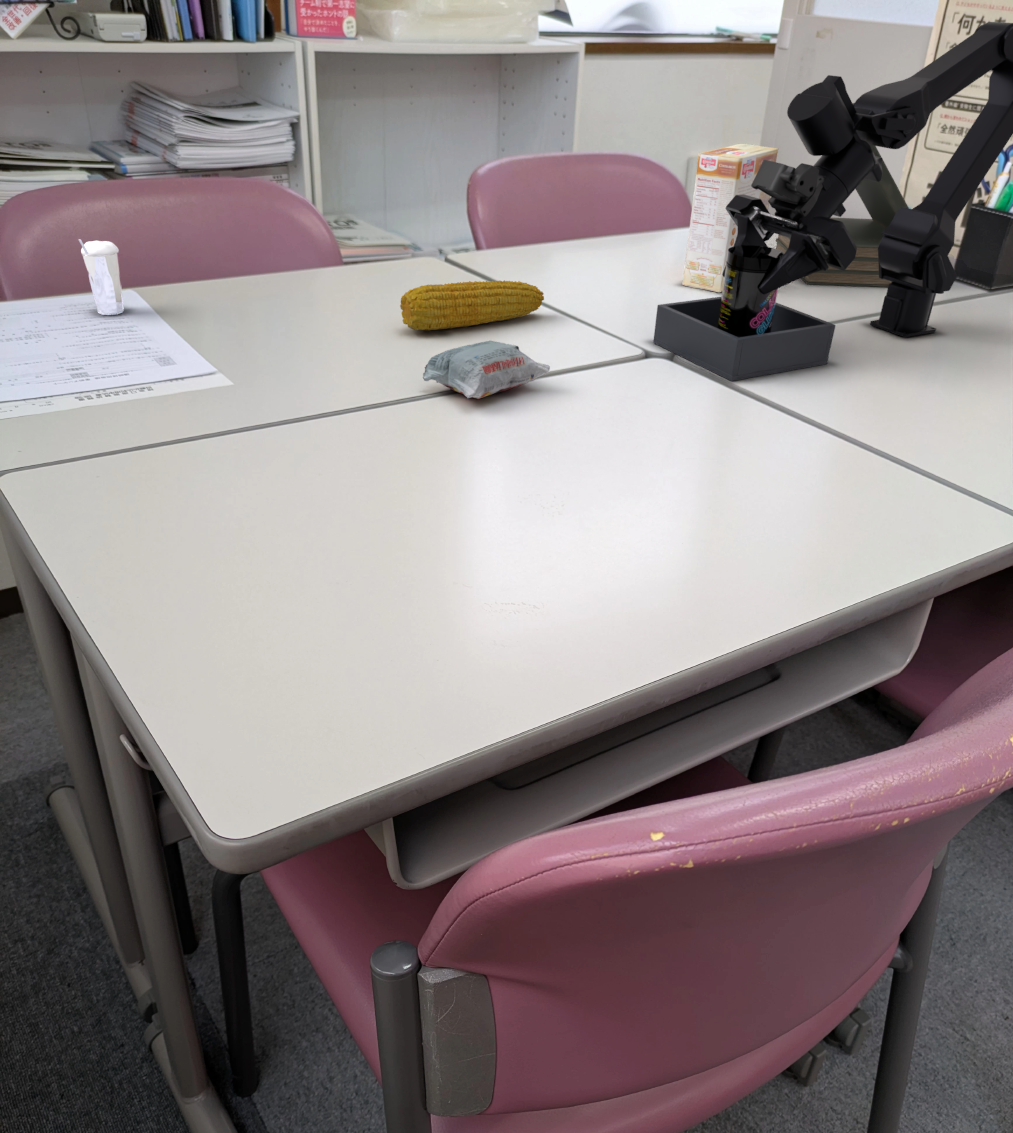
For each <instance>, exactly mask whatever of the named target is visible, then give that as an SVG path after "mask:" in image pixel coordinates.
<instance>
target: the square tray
mask: <svg viewBox="0 0 1013 1133" xmlns="http://www.w3.org/2000/svg"><path fill="white" fill-rule="evenodd" d="M721 298H722V296H716V297H709V298H708V297H707V298H701V299H699V298H698V299H691V300H685V301H678V302H671V303H662V304H657V308H656V315H655V316H656V317H655V325H654V333H653V340H652V342H653V344H655V345H656V346H659V347H661V348H663V349H664V350H667V351H670V352H671V353H673V354H675V355H677V356H679V357H682V358H684V359H686V360H687V361H689V362H691V363H694V364H695V365H697V366H700V367H701V368H703V369H705V370H708V371H710V372H712V373H714V374H716V375H718V376H720V377H722V378H724V379H725V380H728V381H730V382H734V381H739V380H745V379H750V378H756V377H762V376H768V375H774V374H780V373H784V372H789V371H795V370H801V369H808V368H812V367H817V366H823V365H827V364H828V362H829V357H830V352H831V349H832V343H833V339H834V336H835V330H836V324H835V323H831V322H829V321H827V320H824V319H821V318H819V317H816V316H813V315H811V314H809V313H805V312H802V311H800V310H797V309H794V308H792V307H789V306H787V305H784V304H782V303H778V302H776V304H775V310H774V316H773V322H772V328H771V333H765V334H758V335H752V336H745V337H736V336H734V335H732V334H729V333H727V332H725V331H722V330H720V329H718V328H717V327H718V320H719V313H720V305H721Z"/></svg>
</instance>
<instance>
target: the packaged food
mask: <svg viewBox="0 0 1013 1133" xmlns="http://www.w3.org/2000/svg"><path fill="white" fill-rule="evenodd" d="M550 370H551V366H550V365H549V364H546V363H541V362H537V361H535V360H534V359H532V358H531V357H529V356H528V355H527V354H526V353H524V352H522V351H521V350H520V347H519V345H515V344H510V343H505V342H500V341H495V340H485V341H480V342H475V343H472V344H467V345H463V346H462V345H461V346H458V347H455V348H454V347H453V348H450V349H447V350H445V351H443V352H441V353H437V354H435V355H433V356H432V357H431V358H430V359H429V360H428V362H427V364H426V365H425V366H424V372H423V373H422V379H423V381H424V382H429V381H430V380H432V381H435V382H436V383H437V384H439V385H440V384H441V385H442V386H444V387H446V388H448V389H450V390H452V391H454V392H457V393H459V394H462V395H464V396H465V397H466V398H467V399H470V398H474V399H478V400H479V399H482V398H485V397H488V396H491V395H493V394H497V393H502V392H505V391H508V390H511V389H513V388H517V387H519V386H522V385H525V384H528V383H531V382H533V381H535V380H536V379H537V378H539V377H542V376H543V375H546V374H548V373H549V372H550Z"/></svg>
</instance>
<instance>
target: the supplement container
mask: <svg viewBox="0 0 1013 1133" xmlns="http://www.w3.org/2000/svg"><path fill="white" fill-rule="evenodd" d="M783 255H784V252H782V251H780V250H778V249H776V248H773V247H770V246H768V247H763V246H751V245H744V246H734V247H731V248H729V249H728V254H727V261H726V270H725V277H724V284H723V291H722V292H721V297H722V298H721V305H720V313H719V320H718V327H717V328H718V329H720V330H722V331H725V332H727V333H729V334H732V335H734V336H736V337H745V336H752V335H758V334H765V333H771V328H772V322H773V316H774V310H775V304H776V303H777V298H778V292H779V288H778V289H776V290H773V291H771V292H769V293H767V294H762V293H761V292H760V290H759V287H760V285H761V284H762V282H763V281H764V279H765V278H766V277H767V275H768V274H769V273H770V271H771V270H772V269H773V268H774V266H775V265H776V264H777V263H778V261H779V260H780V259H781V257H782V256H783Z"/></svg>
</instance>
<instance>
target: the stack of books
mask: <svg viewBox="0 0 1013 1133" xmlns="http://www.w3.org/2000/svg"><path fill="white" fill-rule="evenodd" d="M870 147H871V149H872V151H873V153H874V155H875V156H877V157H881V158H883V157H882V155H881V154H880V151H879V150H878V148H877V146H873V145H870ZM882 172H883V173H882V179H881V181H880V182H876V181H871V180H867V179H863V181H862V182H861V183H860V184H859V185H858V186H857V187H856V189H855V191H856V193H857V194H858V196H859V198H860V200H861V202H862V204H863V205H864V207H865V209H866V210H867V212H868V214H869V216H870V218H853V217H852V218H851V217H831V218H830V219H834V220H837V221H841V222H843V223H844V225H845V227H846V229H847V231H848V232H849V234H850V236H851V238H852V240H853V241H854V243H855V245H856V247H857V251H856V256H855V259H854V260H853V261H852V262H851V264H850V265H849V266H848V267H847V268H846V269H845V270H844V271H842V270H839V269H836V268H833V267H830V266H829V268H828V270H826V271H822V270H821V271H818V272H815V273H813V274H810V275H808V276H805V277H802V278H800V279H801V280H802V281H803V282H804V283H805V284H806V285H819V286H821V285H822V286H827V285H828V286H848V287H849V286H850V287H873V288H874V287H876V288H888V286H889V284H890V283H892V282H891V281H888V280H885V279H880V278H879V264H878V246H879V243H880V242H881V240H882V238H883V236H884V235H882V232H883V231H884V230H885V229H886V228H887V227H888V226H889V225H890V223H891V221H892V220H893V218H894V216H895V214H896V212H897V211H898V210H899V209H900V208H901V207H905V208H909V209H910V207H909V205H908V203H907V202H906V200H905V199H904V196H903V195H902V192H901V190H900V189H899V187H898V185H897V182H896V181H895V179H894V178H893V175H892V174H891V172H890V170H889V168H888V166H887V165H886V162H885V161H884V160H883V161H882ZM775 242H776V246H775V249H778V250H780V251H782V252H784V254H785V252H786V251H787V249H788V247H789V243H790V238H788V237H785V236H782V235H779V234H777V238H775ZM827 265H828V264H827Z"/></svg>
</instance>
